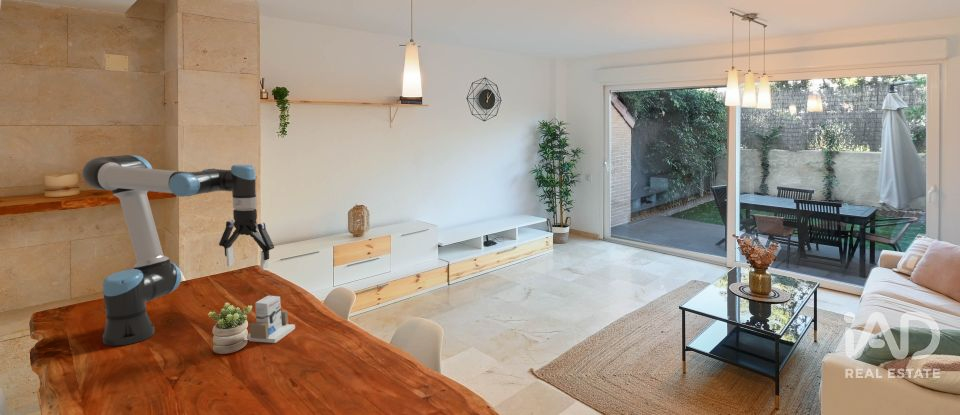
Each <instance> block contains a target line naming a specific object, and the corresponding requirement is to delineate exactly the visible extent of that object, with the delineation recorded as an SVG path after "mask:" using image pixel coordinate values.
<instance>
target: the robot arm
mask: <svg viewBox="0 0 960 415" xmlns="http://www.w3.org/2000/svg"><path fill="white" fill-rule="evenodd" d="M152 166H153V165H151V163H150V162H149V161H148V160H147V159H145V158H144V157H142V156H140V155H135V154H133V155H129V154H126V155H125V154H124V155H114V156H113V155H112V156H99V157H95V158H92V159H90V160H88V161H87V162H86V163H85V165H84V166H83V168H82V170H81V171H82V172H81V176H82V179H83V182H85V184H86V185H87V186H89V187H90V188H92V189H95V190H98V191H99V190H100V191H111V192H112V195H113V196H115V197H116V198H118V200H119V201H120V202H119V203H120V206H121V209H122V213H123V216H124V220H125V223H126V224H125V225H126V228H127V231H128V234H129V237H130V241H131V245H132V248H133V253H134V256H135V259H136V262H135V264H134V265H133V266H132V268H131V269H124V270H122V271H121V270H120V271H117V272H114V273H112V274H110V275H108V276H106V277H105V278H104V279H103V280H102V295H103V299H104V300H103V301H104V307H105V309H104V310H105V316H106V322H105V326H104V332H103V333H102V343H103V344H104V345H106V346H108V347H109V346H110V347H113V346H114V347H116V346H126V345H131V344H135V343H140V342H142V341H145V340H147V339H149V338H151V337H153V335H154V334H155V327H154V326H155V325H154V324H153V323H152V320H151V318H150V317H149V315H148V313H147V303H149V302H150V301H153V300H155V299H158V298H160V297H164V296H167V295H168V294H170V293H172V292H174V291H175V290H177V288H179V286H180V284H181V281H182V273H181V269H180V268H179V266H177V264H176V263H174V262H173V261H172V262H171V260H170V257H168V256H166V255H165V254H164V252H163V247H162V244H161V241H160V238H159V237H160V236H159V234H158V230H157V227H156V222H155V219H154V216H153V212H152V208H151V205H150V200H149V198H148V192H155V193H168V194H174V195H175V196H176V197H183V198H184V197H192V196H196V195H201V194H208V193H214V192H221V191H222V192H231V193H232V194H231V195H232V208H233V210H232V214H233V219H231V220H228V221H226V222H225V229H224V231H223V234H222V236H221V238H220V240H219V242H218V246H220V247H223V248H224V256H225V257H226V266H227V267H230V266H233V265H234V264H235V260H234V259H235V256H234V246H233V244H234V243H235V241H236V240H237V239H238V238H239V236H242V235H243V236H244V235H245V236H250V237H251V238H252V239H253V240H254V241H255V243H256V244H257V245H258V246H259V248H260V249H261V250H262V251H260V267H261V270H265V269H268V268H269V264H268V263H269V262H268V260H269V259H270V250H273V249H275V246H274V243H273V242H272V238H271V236H270V235H269V233H268V231H267V229H266V223H265V222H262V223H258V222H257V219H258V213H257V211H258V210H257V209H256V208H257V207H258V206H257V193H256V190H257V189H256V181H257V177H256V172H255V171H256V170H255V169H256V168H255V167H254V166H253V165H252V164H251V165H250V164H234V165H232V166H231V167H230V169H219V168H218V169H217V168H205V169H202V170H201V171H199V170H198V171H192V172H191V171H180V170H167V169H160V168H159V169H157V168H156V169H155V168H153V167H152ZM233 228H235V230H233ZM232 231H233V232H232Z"/></svg>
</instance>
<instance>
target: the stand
mask: <svg viewBox="0 0 960 415" xmlns="http://www.w3.org/2000/svg"><path fill="white" fill-rule="evenodd" d="M281 320H282V327H280V328H279V329H277V330H276V331H274V332H273V333H272V334H270V335H269V332H268V324H267V323H257V322H251V323H250V324H249V333H247V334H248V336H247V339H248V340H249V341H248V342H256V343H257V342H258V343H270V344H275V343H278V342H279V341H280V340H282V339H283V338H284V337H285V336H287V335H288V334H290V333H291V332H292V331H294V330H295V329H296V324H291V323H290V324H289V313H288V310H282V309H281Z"/></svg>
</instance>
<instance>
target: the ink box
mask: <svg viewBox="0 0 960 415" xmlns="http://www.w3.org/2000/svg"><path fill="white" fill-rule="evenodd" d="M254 306H255V320H256V322H255V323H267V324H268V332H269V335H270V334H272V333H273V332H274V331H276V330H277V329H279V328H280V327H282V320H281V310H282V309H281V308H282V305H281V296H278V295H267V296H265V297H263V298H260V299H259V300H258V301H256V302H255V303H254Z"/></svg>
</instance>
